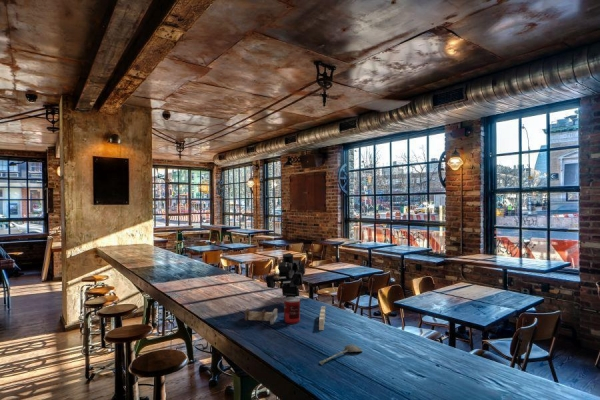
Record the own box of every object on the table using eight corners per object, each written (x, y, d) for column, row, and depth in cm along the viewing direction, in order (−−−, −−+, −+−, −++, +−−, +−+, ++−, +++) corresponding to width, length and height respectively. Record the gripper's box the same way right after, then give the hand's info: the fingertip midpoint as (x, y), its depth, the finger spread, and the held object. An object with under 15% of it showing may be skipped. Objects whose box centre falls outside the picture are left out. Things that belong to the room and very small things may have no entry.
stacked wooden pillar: (242, 322, 170) (242, 313, 170) (248, 315, 182) (249, 306, 182) (272, 324, 169) (273, 315, 169) (277, 316, 181) (277, 307, 181)
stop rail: (321, 316, 182) (321, 306, 182) (325, 316, 182) (325, 306, 182) (319, 329, 162) (319, 319, 162) (323, 330, 162) (323, 319, 162)
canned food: (289, 317, 179) (289, 295, 179) (302, 320, 175) (303, 298, 175) (280, 321, 173) (281, 299, 173) (294, 325, 168) (294, 301, 169)
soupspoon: (365, 354, 140) (353, 349, 145) (366, 345, 140) (353, 341, 145) (326, 368, 126) (314, 362, 130) (326, 358, 126) (314, 353, 131)
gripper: (268, 261, 189) (259, 272, 174) (302, 258, 185) (296, 269, 170) (271, 281, 191) (263, 293, 175) (305, 278, 187) (300, 291, 172)
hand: (280, 286), depth 173 cm, fingers open, 9 cm apart
